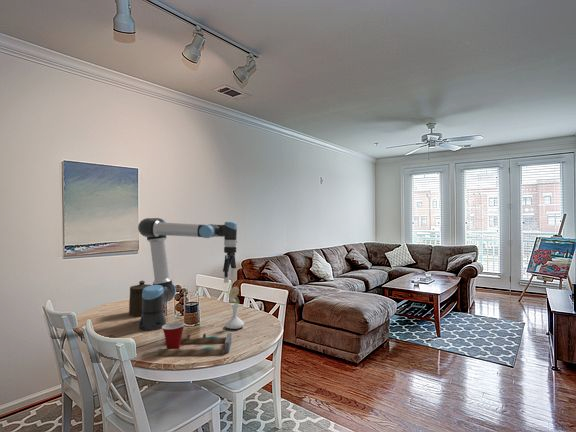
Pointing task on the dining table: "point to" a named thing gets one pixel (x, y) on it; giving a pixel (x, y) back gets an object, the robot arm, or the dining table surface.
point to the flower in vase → (234, 311)
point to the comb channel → (196, 351)
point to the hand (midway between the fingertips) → (229, 280)
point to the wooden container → (136, 299)
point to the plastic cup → (173, 334)
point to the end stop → (228, 343)
